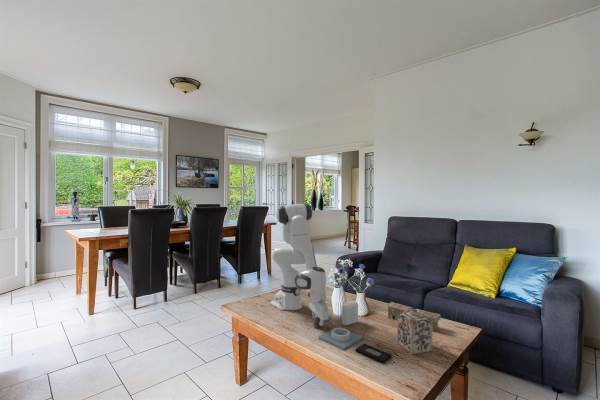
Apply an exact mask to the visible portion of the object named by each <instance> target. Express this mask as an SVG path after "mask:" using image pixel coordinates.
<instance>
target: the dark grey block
mask: <svg viewBox="0 0 600 400" xmlns="http://www.w3.org/2000/svg"><path fill="white" fill-rule="evenodd" d="M319 322H320V318H319V317H318V316H317V315H314V319H313V328H314V329H317V330H321V329H323V327H324V325H323V326H320V325H319Z"/></svg>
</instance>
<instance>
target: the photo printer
mask: <svg viewBox="0 0 600 400" xmlns="http://www.w3.org/2000/svg"><path fill="white" fill-rule="evenodd" d="M358 322H359V303H358V302H357V301H355V300H350V301H347V302H345V303H343V304H342V306H341V324H342V325H343V326H349V325H352V324H357V323H358Z"/></svg>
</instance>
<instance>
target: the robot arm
mask: <svg viewBox="0 0 600 400" xmlns="http://www.w3.org/2000/svg"><path fill="white" fill-rule="evenodd" d="M275 216H276V217H275V218H276V219H277V221H278V222H279V223H280V224H282V239H283V241H284V242H285V243H286V244H288V245H290V246H281V247H280V246H279V247H276V248H274V250H273V251H272V255H271V257H272V260H273V262H274V263H275V264H276V265H278V267H279V269H281V272H282V278H283V279H282V281H283V282H282V283H283V284H281V285H280V288H281V289H280V290H279V291H278V292H276V293H275V294H274V299H273V300H271V301H270V304H271V305H272V306H273V307H275V308H277V309H279V310H280V311H297V310H300V309H302V308H303V301H302V293H301V290H309V292H307V299H308V300H307V304H308V309H310V310H311V314H312V319H313V320H314V315H317V316H318V317H319V318H320V322H319V325H320V326H323V327H324V322H325V321H327V320H329V307H328V305H327V304H326V301H327V289H326V288H327V287H326V286H327V273H326V271H325V269H324V268H322V267H320V266H317V261H316V254H315V250H314V247H313V244H312V241H311V237H310V228H309V227H310V226H309V224H308V221H309V220H311V219H312V217H313V209H312V206H311V205H310V204H309V203H294V204H288V205H281V206H278V207H277V209H276V212H275ZM292 265H305V267H306V268H305V270H303V271H300V272H299V270H297V269H296V268H294V267H293V266H292Z"/></svg>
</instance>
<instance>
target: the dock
mask: <svg viewBox="0 0 600 400" xmlns="http://www.w3.org/2000/svg"><path fill="white" fill-rule="evenodd" d="M318 339H319V340H321V341H323V342H326V343H328V344H330V345H332V346H334V347H337V348H338V349H341V350H343V351H345V350H346V349H348V348H349V347H351V346H353V345H355V344H357V343H358V342H360V341H362V340H363V339H364V337H363V336H361V335H359V334H357V333H354V332H351V331H350V330H349V329H347V328H345V327H339V326H338V327H334V328H331V330H329V331H327V332H325V333H324V332H323V334H320V335H318Z"/></svg>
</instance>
